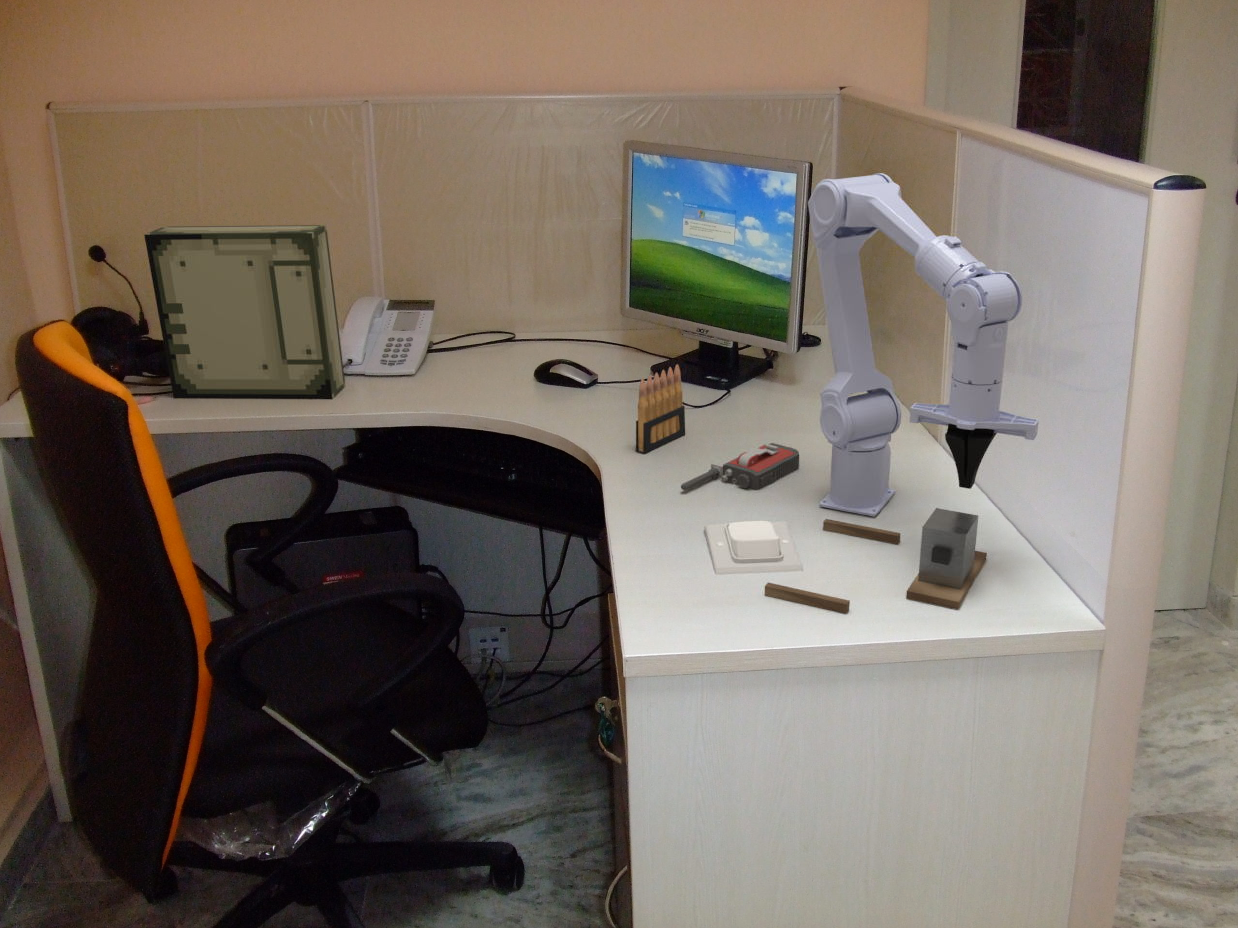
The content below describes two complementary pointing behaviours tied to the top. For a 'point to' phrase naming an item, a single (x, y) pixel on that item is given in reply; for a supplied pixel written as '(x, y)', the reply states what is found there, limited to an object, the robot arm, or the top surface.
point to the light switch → (752, 547)
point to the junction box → (948, 548)
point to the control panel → (247, 311)
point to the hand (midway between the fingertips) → (966, 485)
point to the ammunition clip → (660, 411)
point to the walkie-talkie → (752, 467)
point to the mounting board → (945, 588)
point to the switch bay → (825, 600)
